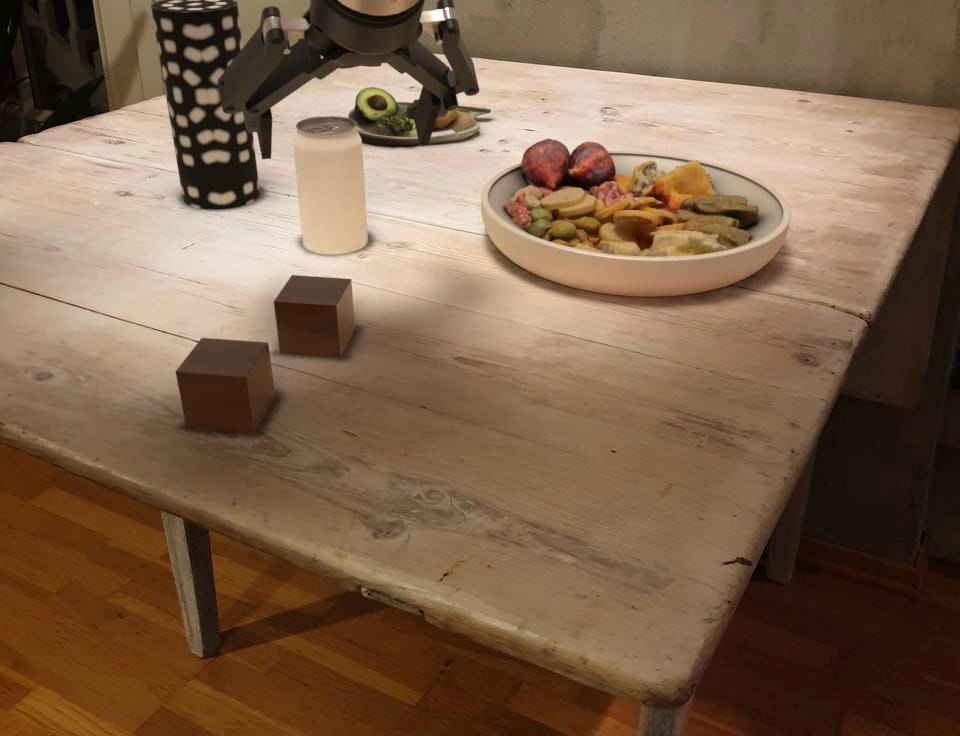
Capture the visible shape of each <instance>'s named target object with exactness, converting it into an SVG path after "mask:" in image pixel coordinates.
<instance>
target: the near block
mask: <svg viewBox="0 0 960 736" xmlns="http://www.w3.org/2000/svg"><path fill="white" fill-rule="evenodd" d="M269 346H270V345H269V342H267V341H252V340H239V339H227V338H226V339H224V338H210V337H201V339H200V340H199V341H198V342H197V344H196V345H194V347H193V348H192V350H191V351H190V352H189V353H188V355H187V356H186V357H185V358H184V360H183V361H182V363H181V364H180V365H179V366H178V368H177V369H176V370H175V375H176V376H175V377H176V381H177V387H178V392H179V396H180V402H181V408H182V413H183V418H184V423H185V427H186V429H198V430H209V431H223V432H233V433H234V432H235V433H246V434H247V433H248V434H255V433H256V431H257V430H258V428H259V426H260V424H261V423H262V421H263V419H264V417H265V415H266V414H267V412H268V410H269V409H270V407H271V405H272V404H273V402H274V401H275V399H276V392H275V385H274V375H273V369H272V362H271V354H270V353H271V352H270V347H269Z"/></svg>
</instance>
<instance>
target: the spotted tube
mask: <svg viewBox="0 0 960 736" xmlns="http://www.w3.org/2000/svg"><path fill="white" fill-rule="evenodd" d="M150 7H151V14H152V19H153V20H152V21H153V25H154V26H153V27H154V32H155V38H156V45H157V50H158V56H159V57H158V58H159V62H160V68H161V74H162V80H163V87H164V92H165V98H166V105H167V110H168V117H169V123H170V129H171V136H172V141H173V146H174V154H175V160H176V164H177V171H178V176H179V184H180V190H181V194H182V195H181V196H182V200H183V203H185V204H186V205H187V206H189V207H192V208H195V209H201V210H209V211H211V210H212V211H213V210H214V211H215V210H216V211H217V210H219V211H220V210H230V209H236V208H241V207H244V206H247V205H250V204H252V203H253V202H255V201H257V200H258V199H259V198H260V196H261V190H260V181H259V175H258V166H257V165H258V163H257V156H256V149H255V142H254V141H255V139H254V132H250V133H249V132H248V131H247V130H246V125H245V120H244V114H243V110H239V111H238V112H236V113H234V114H226V113H224V112H223V109H222V104H221V98H220V93H219V87H218V79H219V78H220V76H221V75H222V74H223V73H224V71H225V70H226V69H227V67H228V66H229V65H230V64H231V62H232V61H233V60H234V59H235V57H236V56H237V55H238V53H239V52H240V51H241V50H242V48H243V47H244V46H243V40H242V32H241V22H240V13H239V6H238V2H237V1H236V0H158V1H155V2H153V3H151V5H150Z"/></svg>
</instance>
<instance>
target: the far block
mask: <svg viewBox="0 0 960 736" xmlns="http://www.w3.org/2000/svg"><path fill="white" fill-rule="evenodd" d="M273 308H274V314H275V315H274V317H275V324H276V333H277V341H278V347H279V348H278V349H279V350H278V351H279V354H282V355H283V354H286V355H299V356H312V357H326V358H337V359H338V358H339V359H340V358H342V355H343V353H344V351H345V350H346V347H347V346H348V344H349V342H350V340H351V337H352V336H353V333H354V332H355V329H356V324H355V311H354V310H355V309H354V297H353V282H352V278H345V277H344V278H343V277H329V276H311V275H298V274H296V275H295V274H291V276H290V277H289V278H288V280H287V281H286V283H285V284H284V286H283V287H282V289H280V291H279V293H278V294H277V296H276V298H274V300H273Z"/></svg>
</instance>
